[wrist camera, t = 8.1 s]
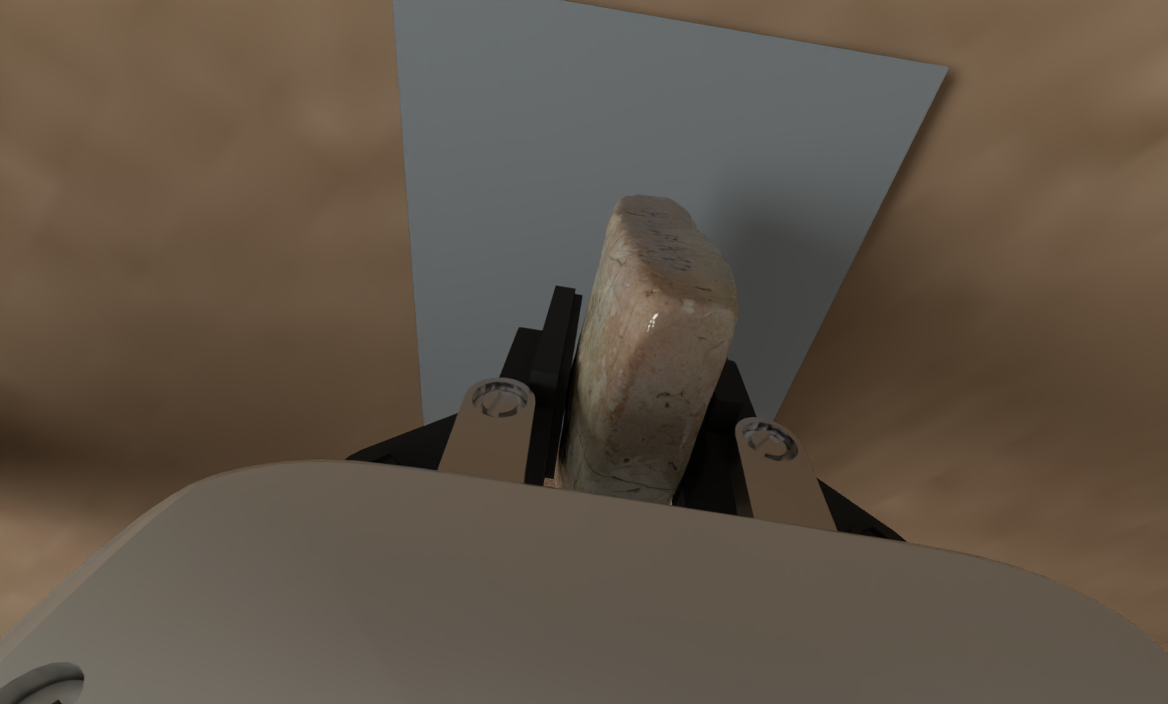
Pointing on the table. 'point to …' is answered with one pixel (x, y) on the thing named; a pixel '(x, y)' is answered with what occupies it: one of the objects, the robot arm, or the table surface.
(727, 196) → the mat
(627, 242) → the cuneiform tablet
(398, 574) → the robot arm
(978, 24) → the table surface
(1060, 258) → the table surface
